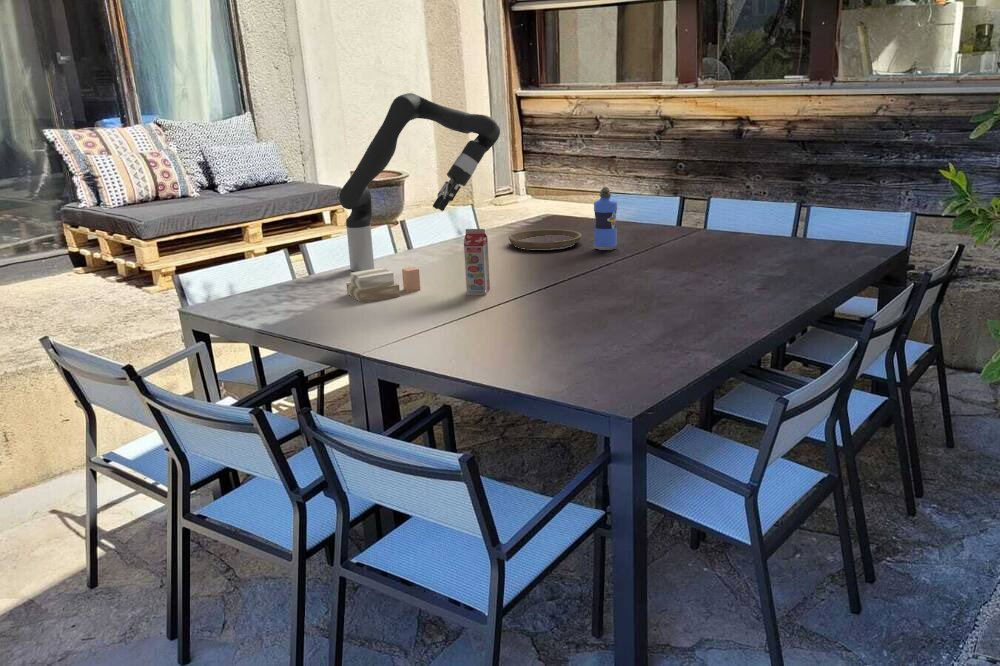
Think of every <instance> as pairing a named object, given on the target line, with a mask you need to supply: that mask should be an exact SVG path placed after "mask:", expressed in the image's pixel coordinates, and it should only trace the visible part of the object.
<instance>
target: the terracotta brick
mask: <svg viewBox="0 0 1000 666" xmlns="http://www.w3.org/2000/svg"><path fill="white" fill-rule="evenodd" d="M401 272H402V274H401V275H402V283H403V284H402V287H403V290H404V291H406V292H408V293H411V292H418V291H421V279H420V269H419V268H417V267H415V266H410V267H404V268H402V269H401Z"/></svg>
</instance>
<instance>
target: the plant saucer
mask: <svg viewBox="0 0 1000 666" xmlns="http://www.w3.org/2000/svg"><path fill="white" fill-rule="evenodd" d="M545 235H565V236H570V237H573V239H569V240H563V241H554V242H527V241H519V240H522V239H526V238H530V237H536V236H545ZM582 236H583V235H582V233H580V232H579V231H574V230H568V229H555V228H554V229H553V228H552V229H550V228H549V229H532V230H524V231H518V232H514V233H511V234H510V235H508V240H509V242H510V243H511V244H512V245H513V246H514V247H515V246H516V247H519V248H525V249H551V248H560V247H566V246H570V245H573V244H575V243H578V242H579V241H580V240H581V238H582ZM516 247H515V248H516Z"/></svg>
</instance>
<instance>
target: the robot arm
mask: <svg viewBox="0 0 1000 666" xmlns="http://www.w3.org/2000/svg"><path fill="white" fill-rule="evenodd" d="M416 119H420V120H421V119H422V120H428V121H433V122H435V123H437V124H438V125H441V126H442V127H445V128H446V129H448V130H451V131H455V132H459V133H462V134H466V135H467V134H471V133H473V134H477V136H476V137H475V138H474V139H472V140H469V141H468V142H467V143H466V145H465V146H464V148H463V149H462V151H461V152H460V154H459V155H458V156H457V158H456V159H455V160H454V162H453V163H452V165H451V167H450V168H449V170H448V171H447V173H446V175H447V177H448V178H449V180H446V181H445V182H444V184H443V185H442V186H441V188H440V190H439V191H438V193H437V198H436V200H435V201H434V203H433V205H432V207H433V208H434V209H435V210H440V211H441V212H444V211H445V209H446V208H447V206H448V204H449V203H451V202H453V201H454V199H455V197H456V196H457V194H458V192H459V191H460V189H461V188H462V187H466V186H467V184H468V182H469V180H471V177H472V176H473V174H474V173H475V171H476V169H477V167H478V165H479V163H480V162H481V161H482V159H483V158H484V155H485V154H486V153H488V151H490V149H491V148H492V147H493V146H494V145H495V144H496V143H497V141H498V140H499V137H500V135H501V134H500V133H501V129H500V126H499V124H498V123H497V122H496V120H495V119H494V118H493V117H491V116H488V115H486V114H485V115H484V114H480V113H479V114H476V113H469V112H467V111H466V112H465V111H462V110H458V109H454V108H451V107H447V106H443V105H442V104H439V103H435V102H433V101H431V100H428V99H426V98H424V97H422V96H420V95H417V94H416V93H413V92H410V93H408V92H407V93H403V94H400V95H398V96H397V97H395V98H394V99H393V101H392V103H391V104H390V105H389V109H388V111H387V113H386V116H385V118H384V120H383V123H382V124H381V126H380V127H379V128H378V130H377V132H376V133H375V135H374V137H373V139H372V140H371V142H370V143H369V145H368V146H367V148H366V150H365V152H364V154H363V156H362V158H361V159H360V161H359V163H358V164H357V167H356V168H355V169H354V171H353V172H352V174H351V176H350V177H349V179H348V180H347V182H345V184H344V185H343V186H342V188H341V189H340V192H339V195H338V197H339V203H340V205H341V207H342V208H344V209H346V210H351V211H350V214H349V216H348V217H346V220H345V224H346V227H345V228H346V233H347V234H346V236H347V244H348V245H347V246H348V256H349V257H348V258H349V267H350V268H349V269H350V272H358V271H364V270H371V269H375V262H374V261H375V260H374V249H373V238H372V228H371V227H372V226H371V220H372V216H373V215H372V214H373V213H372V212H373V211H372V210H373V208H372V194H371V191H370V188H369V187H368V186H369V185H370V183H371V182H372V181H373V180H374V179H375V178H377V177H378V176H379V174H382V172H383V171H384V170H385V169H386V168H387V166H388V165H389V163H390V161H391V160H392V158H393V157H394V155H395V152H396V149H397V144H398V139H399V136H400V134H401V132H402V131H403V129H404V128H406V127H405V126H407V124H408V123H409V122H410V121H413V120H416Z"/></svg>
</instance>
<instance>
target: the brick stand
mask: <svg viewBox="0 0 1000 666" xmlns="http://www.w3.org/2000/svg"><path fill="white" fill-rule="evenodd" d="M349 277H350V282H347V283H346V282H345V283H346V293H347V294H348V296H349V295H350V296H349V297H351V296H352V297H353V299H354V298H355V299H354V300H356V299H357V300H358V301H357V300H356V301H357V302H359V301H360V302H359V303H361V302H364V303H369V302H368V301H370V302H375V301H374V300H376V301H380V300H386V299H387V300H388V299H392V298H397V297H401V292H400V284H398V283H397V282H395V279H394V278H395V276H394V272H393V271H390V270H388V269H386V268H384V267H379V268H374V269H371V270H364V271H358V272H354V271H350V272H349ZM352 297H351V298H352Z"/></svg>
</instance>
